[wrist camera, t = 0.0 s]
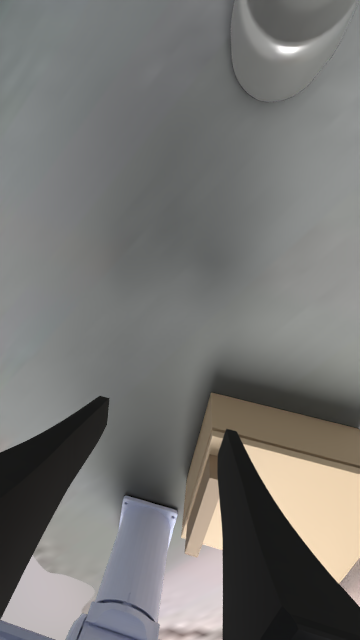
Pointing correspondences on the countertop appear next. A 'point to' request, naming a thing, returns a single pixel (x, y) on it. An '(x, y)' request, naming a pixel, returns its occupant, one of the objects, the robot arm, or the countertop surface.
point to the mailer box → (273, 434)
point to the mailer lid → (287, 502)
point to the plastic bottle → (285, 43)
